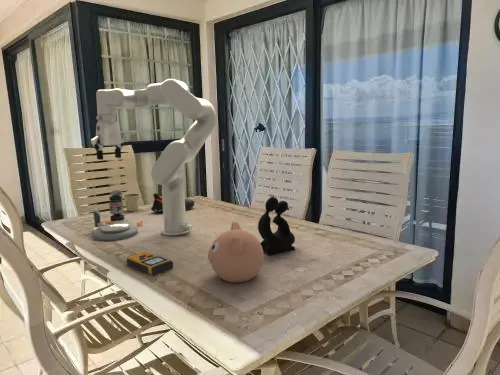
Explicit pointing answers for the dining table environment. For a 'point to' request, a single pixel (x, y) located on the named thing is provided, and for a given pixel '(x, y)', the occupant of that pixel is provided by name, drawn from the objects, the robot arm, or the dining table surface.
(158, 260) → the electronic device
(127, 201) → the flower pot
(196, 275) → the dining table surface
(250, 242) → the toy
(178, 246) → the dining table surface
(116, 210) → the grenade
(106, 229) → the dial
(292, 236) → the figurine
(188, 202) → the athletic shoe
